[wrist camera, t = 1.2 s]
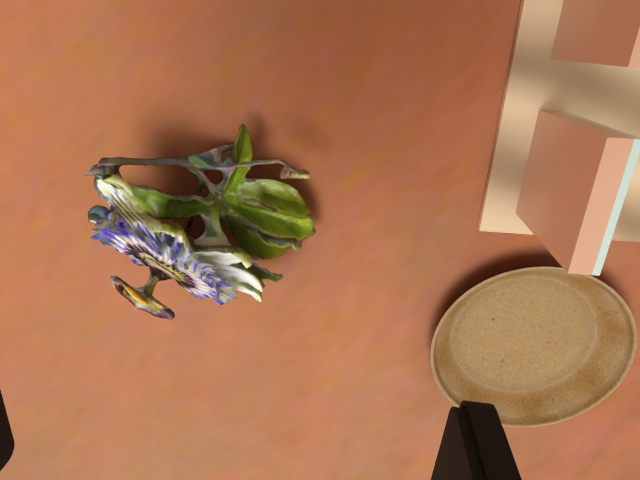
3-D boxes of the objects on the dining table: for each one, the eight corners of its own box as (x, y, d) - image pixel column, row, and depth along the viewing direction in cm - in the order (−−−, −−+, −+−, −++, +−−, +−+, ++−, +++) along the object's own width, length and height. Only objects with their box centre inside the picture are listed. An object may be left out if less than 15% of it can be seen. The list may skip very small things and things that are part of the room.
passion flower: (215, 213, 41) (56, 256, 32) (243, 82, 34) (50, 88, 25) (311, 304, 36) (154, 389, 26) (367, 171, 29) (181, 221, 20)
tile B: (538, 109, 29) (607, 137, 21) (564, 111, 29) (643, 139, 21) (515, 213, 32) (567, 273, 24) (538, 214, 32) (599, 275, 24)
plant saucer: (580, 417, 40) (594, 442, 37) (410, 391, 40) (413, 413, 38) (650, 266, 34) (672, 283, 31) (449, 237, 34) (455, 252, 32)
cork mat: (542, -110, 25) (546, -113, 25) (814, -103, 24) (824, -107, 24) (477, 227, 33) (479, 230, 33) (679, 241, 32) (684, 245, 32)
